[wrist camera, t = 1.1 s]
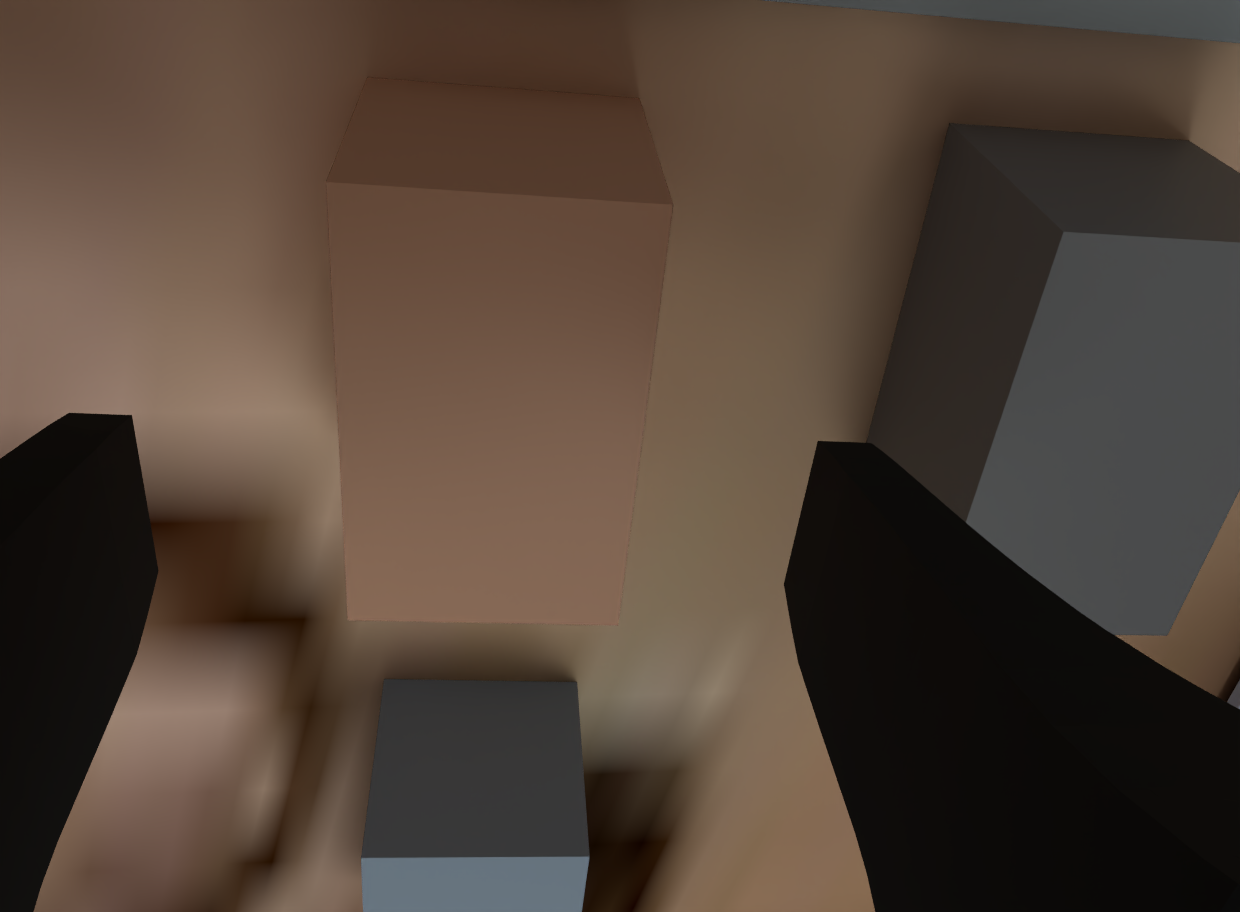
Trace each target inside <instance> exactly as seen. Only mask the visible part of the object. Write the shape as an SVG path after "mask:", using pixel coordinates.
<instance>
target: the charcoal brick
mask: <svg viewBox="0 0 1240 912" xmlns="http://www.w3.org/2000/svg"><path fill="white" fill-rule="evenodd" d="M866 443H872V444H873V445H875V446H876V447H877V448H879V449H880V450H881V451H883V452H884V453H885V454H887V455H888V456H889V457H890V458H891V459H893V460H894V461H895V462H896V463H897V464H899V465H900V466H901V467H902V468H903V469H905V470H906V471H907V472H908V473H909V474H910V475H912V476H913V477H914V478H915V479H916V480H917V481H918V482H920V483H921V484H922V485H923V486H924V487H925V488H927V489H928V490H929V491H930V492H931V493H932V494H933V495H935V496H936V497H937V498H938V499H939V500H940V501H941V502H943V503H944V504H945V505H946V506H947V507H948V508H950V509H951V510H952V511H953V512H954V513H955V514H957V515H958V516H959V517H960V518H961V519H962V520H964V521H965V522H966V523H967V524H968V525H969V526H971V527H972V528H973V529H974V530H975V531H977V532H978V533H979V534H980V535H981V536H983V537H984V538H985V539H986V540H987V541H988V542H990V543H991V544H992V545H993V546H995V547H996V548H997V549H998V550H999V551H1001V552H1002V553H1003V554H1004V555H1006V556H1007V557H1008V558H1009V559H1011V560H1012V561H1013V562H1014V563H1016V564H1017V565H1018V566H1019V567H1021V568H1022V569H1023V570H1024V571H1026V572H1027V573H1028V574H1030V575H1031V576H1032V577H1034V578H1035V579H1036V580H1038V581H1039V582H1040V583H1042V584H1043V585H1044V586H1046V587H1047V588H1048V589H1050V590H1051V591H1052V592H1054V593H1055V594H1056V595H1058V596H1059V597H1060V598H1062V599H1063V600H1064V601H1066V602H1067V603H1068V604H1070V605H1071V606H1072V607H1074V608H1075V609H1076V610H1078V611H1079V612H1081V613H1082V614H1084V615H1085V616H1086V617H1088V618H1089V619H1091V620H1092V621H1094V622H1095V623H1097V624H1098V625H1099V626H1101V627H1102V628H1104V629H1105V630H1107V631H1108V632H1110V633H1112V634H1113V635H1165V636H1167V635H1168V633H1169V631H1170V629H1171V627H1172V625H1173V623H1174V621H1175V619H1176V617H1177V615H1178V613H1179V611H1180V609H1181V607H1182V605H1183V603H1184V601H1185V599H1186V597H1187V595H1188V593H1189V591H1190V589H1191V587H1192V585H1193V583H1194V581H1195V579H1196V577H1197V575H1198V573H1199V571H1200V569H1201V567H1202V565H1203V563H1204V561H1205V559H1206V557H1207V555H1208V553H1209V551H1210V549H1211V547H1212V545H1213V543H1214V541H1215V539H1216V536H1217V534H1218V532H1219V530H1220V528H1221V526H1222V524H1223V522H1224V520H1225V518H1226V516H1227V514H1228V512H1229V510H1230V508H1231V506H1232V504H1233V502H1234V500H1235V498H1236V496H1237V494H1238V492H1239V490H1240V173H1239V172H1237V171H1235V170H1234V169H1232V168H1231V167H1229V166H1228V165H1226V164H1225V163H1223V162H1221V161H1220V160H1218V159H1217V158H1215V157H1214V156H1212V155H1210V154H1209V153H1207V152H1206V151H1204V150H1203V149H1201V148H1200V147H1198V146H1196V145H1195V144H1193V143H1192V142H1190V141H1187V140H1174V139H1160V138H1146V137H1133V136H1119V135H1105V134H1092V133H1078V132H1064V131H1051V130H1037V129H1023V128H1010V127H996V126H982V125H969V124H955V123H949V127H948V131H947V135H946V138H945V142H944V146H943V150H942V154H941V158H940V161H939V165H938V169H937V173H936V177H935V181H934V184H933V188H932V192H931V196H930V200H929V204H928V207H927V211H926V215H925V219H924V223H923V227H922V231H921V234H920V238H919V242H918V246H917V250H916V254H915V257H914V261H913V265H912V269H911V273H910V277H909V280H908V284H907V288H906V292H905V296H904V300H903V303H902V307H901V311H900V315H899V319H898V323H897V326H896V330H895V334H894V338H893V342H892V346H891V350H890V353H889V357H888V361H887V365H886V369H885V373H884V376H883V380H882V384H881V388H880V392H879V396H878V399H877V403H876V407H875V411H874V415H873V419H872V422H871V426H870V430H869V434H868V438H867V442H866Z"/></svg>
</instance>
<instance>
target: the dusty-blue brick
mask: <svg viewBox="0 0 1240 912" xmlns="http://www.w3.org/2000/svg"><path fill="white" fill-rule="evenodd" d="M588 862H589V845H588V831H587V817H586V803H585V788H584V774H583V760H582V746H581V731H580V717H579V703H578V688H577V682H541V681H477V680H414V679H384V684H383V692H382V699H381V707H380V715H379V723H378V730H377V738H376V746H375V754H374V762H373V769H372V777H371V785H370V793H369V801H368V808H367V816H366V824H365V832H364V840H363V847H362V855H361V868H362V893H363V912H582V905H583V898H584V891H585V884H586V877H587V869H588Z"/></svg>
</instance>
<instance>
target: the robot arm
mask: <svg viewBox="0 0 1240 912" xmlns="http://www.w3.org/2000/svg"><path fill="white" fill-rule="evenodd" d="M157 575H158V566H157V560H156V554H155V548H154V542H153V537H152V531H151V525H150V519H149V513H148V507H147V501H146V496H145V490H144V484H143V478H142V472H141V466H140V460H139V455H138V449H137V443H136V437H135V431H134V425H133V419H132V415H111V414H84V413H68V414H66V415H65V416H63V417H61V418H60V419H58V420H56V421H55V422H53V423H52V424H50V425H49V426H47V427H46V428H44V429H43V430H41V431H40V432H38V433H37V434H35V435H34V436H32V437H31V438H29V439H28V440H26V441H25V442H24V443H22V444H21V445H19V446H18V447H16V448H15V449H14V450H12V451H11V452H9V453H8V454H6V455H5V456H4V457H2V458H1V459H0V912H33V911H34V908H35V905H36V901H37V898H38V895H39V891H40V888H41V885H42V882H43V879H44V877H45V874H46V871H47V869H48V866H49V863H50V861H51V858H52V855H53V853H54V850H55V847H56V845H57V842H58V840H59V837H60V835H61V833H62V830H63V828H64V825H65V823H66V821H67V818H68V816H69V814H70V811H71V809H72V807H73V804H74V802H75V800H76V797H77V795H78V793H79V790H80V788H81V786H82V783H83V781H84V779H85V776H86V774H87V772H88V769H89V767H90V765H91V762H92V760H93V758H94V755H95V753H96V751H97V748H98V746H99V744H100V741H101V739H102V737H103V734H104V732H105V730H106V727H107V725H108V723H109V720H110V718H111V715H112V713H113V711H114V708H115V706H116V703H117V701H118V699H119V696H120V694H121V691H122V689H123V687H124V684H125V682H126V679H127V677H128V675H129V672H130V670H131V667H132V665H133V662H134V660H135V657H136V655H137V651H138V648H139V644H140V641H141V637H142V633H143V630H144V626H145V622H146V619H147V615H148V611H149V607H150V603H151V599H152V595H153V591H154V587H155V583H156V579H157ZM784 587H785V593H786V599H787V605H788V611H789V617H790V623H791V628H792V633H793V638H794V643H795V648H796V653H797V658H798V663H799V666H800V669H801V672H802V676H803V679H804V682H805V685H806V688H807V691H808V694H809V697H810V700H811V703H812V706H813V709H814V712H815V715H816V718H817V722H818V725H819V728H820V730H821V733H822V736H823V739H824V742H825V745H826V748H827V751H828V754H829V757H830V760H831V763H832V766H833V769H834V772H835V775H836V778H837V781H838V784H839V787H840V790H841V793H842V796H843V799H844V801H845V804H846V807H847V810H848V813H849V816H850V819H851V822H852V825H853V828H854V831H855V834H856V837H857V841H858V844H859V848H860V851H861V855H862V858H863V862H864V865H865V869H866V872H867V876H868V881H869V885H870V890H871V894H872V899H873V903H874V908H875V912H1240V680H1239V682H1238V684H1237V685H1236V687H1235V689H1234V691H1233V692H1232V694H1231V696H1230V698H1229V699H1228V701H1227V702H1225V701H1223V700H1221V699H1220V698H1218V697H1216V696H1214V695H1212V694H1210V693H1209V692H1207V691H1205V690H1203V689H1201V688H1199V687H1197V686H1196V685H1194V684H1192V683H1191V682H1189V681H1187V680H1185V679H1184V678H1182V677H1180V676H1179V675H1177V674H1175V673H1174V672H1172V671H1170V670H1168V669H1167V668H1165V667H1163V666H1162V665H1160V664H1158V663H1157V662H1155V661H1154V660H1152V659H1151V658H1149V657H1148V656H1146V655H1144V654H1143V653H1141V652H1140V651H1138V650H1137V649H1135V648H1133V647H1132V646H1130V645H1129V644H1127V643H1126V642H1124V641H1123V640H1121V639H1119V638H1118V637H1116V636H1115V635H1113V634H1112V633H1110V632H1108V631H1107V630H1105V629H1104V628H1102V627H1101V626H1099V625H1098V624H1097V623H1095V622H1094V621H1092V620H1091V619H1089V618H1088V617H1086V616H1085V615H1084V614H1082V613H1081V612H1079V611H1078V610H1076V609H1075V608H1074V607H1072V606H1071V605H1070V604H1068V603H1067V602H1066V601H1064V600H1063V599H1062V598H1060V597H1059V596H1058V595H1056V594H1055V593H1054V592H1052V591H1051V590H1050V589H1048V588H1047V587H1046V586H1044V585H1043V584H1042V583H1040V582H1039V581H1038V580H1036V579H1035V578H1034V577H1032V576H1031V575H1030V574H1028V573H1027V572H1026V571H1024V570H1023V569H1022V568H1021V567H1019V566H1018V565H1017V564H1016V563H1014V562H1013V561H1012V560H1011V559H1009V558H1008V557H1007V556H1006V555H1004V554H1003V553H1002V552H1001V551H999V550H998V549H997V548H996V547H995V546H993V545H992V544H991V543H990V542H988V541H987V540H986V539H985V538H984V537H983V536H981V535H980V534H979V533H978V532H977V531H975V530H974V529H973V528H972V527H971V526H969V525H968V524H967V523H966V522H965V521H964V520H962V519H961V518H960V517H959V516H958V515H957V514H955V513H954V512H953V511H952V510H951V509H950V508H948V507H947V506H946V505H945V504H944V503H943V502H941V501H940V500H939V499H938V498H937V497H936V496H935V495H933V494H932V493H931V492H930V491H929V490H928V489H927V488H925V487H924V486H923V485H922V484H921V483H920V482H918V481H917V480H916V479H915V478H914V477H913V476H912V475H910V474H909V473H908V472H907V471H906V470H905V469H903V468H902V467H901V466H900V465H899V464H897V463H896V462H895V461H894V460H893V459H891V458H890V457H889V456H888V455H887V454H885V453H884V452H883V451H881V450H880V449H879V448H877V447H876V446H875V445H873V444H872V443H857V442H830V441H818V442H817V447H816V451H815V455H814V459H813V464H812V468H811V472H810V476H809V480H808V485H807V489H806V493H805V497H804V501H803V506H802V510H801V514H800V518H799V523H798V527H797V531H796V535H795V539H794V544H793V548H792V552H791V556H790V560H789V565H788V569H787V573H786V577H785V582H784Z"/></svg>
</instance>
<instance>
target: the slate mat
mask: <svg viewBox="0 0 1240 912" xmlns="http://www.w3.org/2000/svg"><path fill="white" fill-rule="evenodd" d="M764 1H775V2H787V3H798V4H809V5H820V6H831V7H842V8H853V9H865V10H876V11H887V12H898V13H909V14H920V15H931V16H943V17H954V18H965V19H976V20H987V21H998V22H1009V23H1021V24H1032V25H1043V26H1054V27H1065V28H1076V29H1087V30H1099V31H1110V32H1121V33H1132V34H1143V35H1154V36H1165V37H1177V38H1188V39H1199V40H1210V41H1221V42H1232V43H1240V0H764Z"/></svg>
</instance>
